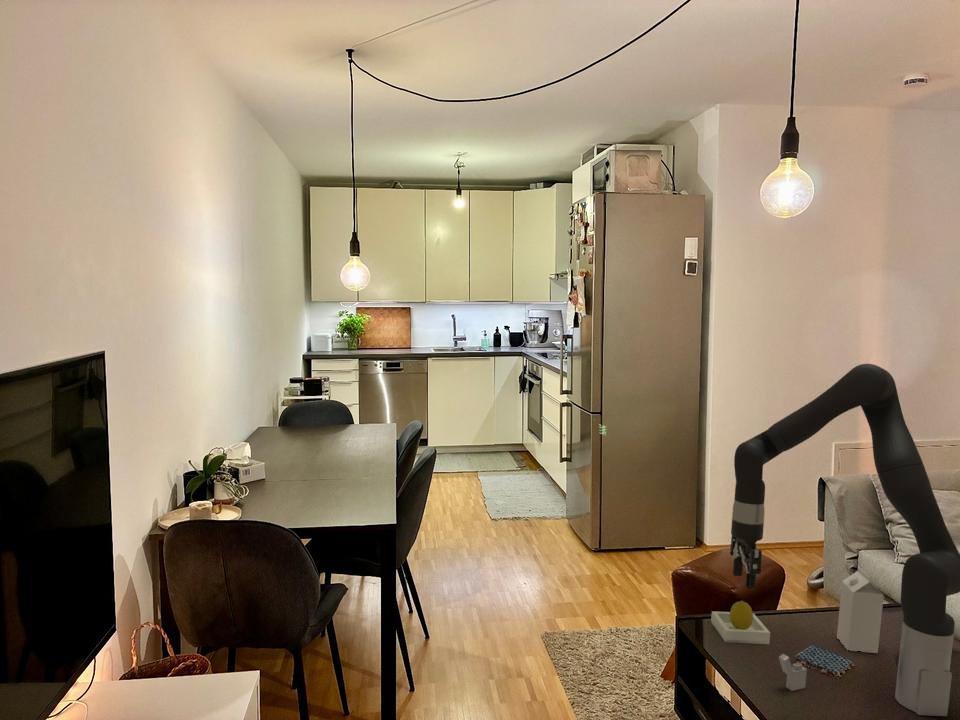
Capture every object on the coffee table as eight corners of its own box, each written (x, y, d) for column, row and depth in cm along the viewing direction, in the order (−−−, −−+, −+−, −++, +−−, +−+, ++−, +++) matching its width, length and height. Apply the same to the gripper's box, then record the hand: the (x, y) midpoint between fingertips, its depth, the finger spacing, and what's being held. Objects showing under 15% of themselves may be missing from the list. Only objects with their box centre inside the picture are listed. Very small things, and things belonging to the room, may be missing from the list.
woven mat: (791, 663, 172) (792, 655, 172) (811, 650, 179) (811, 642, 179) (836, 682, 164) (837, 673, 164) (855, 668, 171) (856, 659, 171)
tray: (769, 644, 180) (770, 632, 180) (724, 642, 180) (725, 630, 180) (752, 624, 191) (753, 613, 191) (710, 622, 191) (711, 611, 191)
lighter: (799, 683, 162) (802, 649, 161) (805, 687, 160) (809, 652, 159) (775, 689, 159) (778, 654, 158) (781, 693, 157) (784, 657, 157)
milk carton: (865, 640, 185) (872, 568, 183) (877, 654, 178) (885, 578, 176) (836, 638, 186) (843, 565, 184) (847, 651, 178) (855, 576, 177)
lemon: (723, 628, 186) (726, 598, 186) (740, 625, 189) (742, 595, 188) (740, 637, 181) (742, 606, 181) (756, 634, 184) (759, 603, 183)
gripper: (774, 527, 176) (769, 593, 177) (751, 511, 190) (747, 571, 191) (743, 526, 176) (739, 592, 177) (723, 510, 190) (719, 570, 191)
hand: (743, 581), depth 184 cm, fingers open, 8 cm apart
